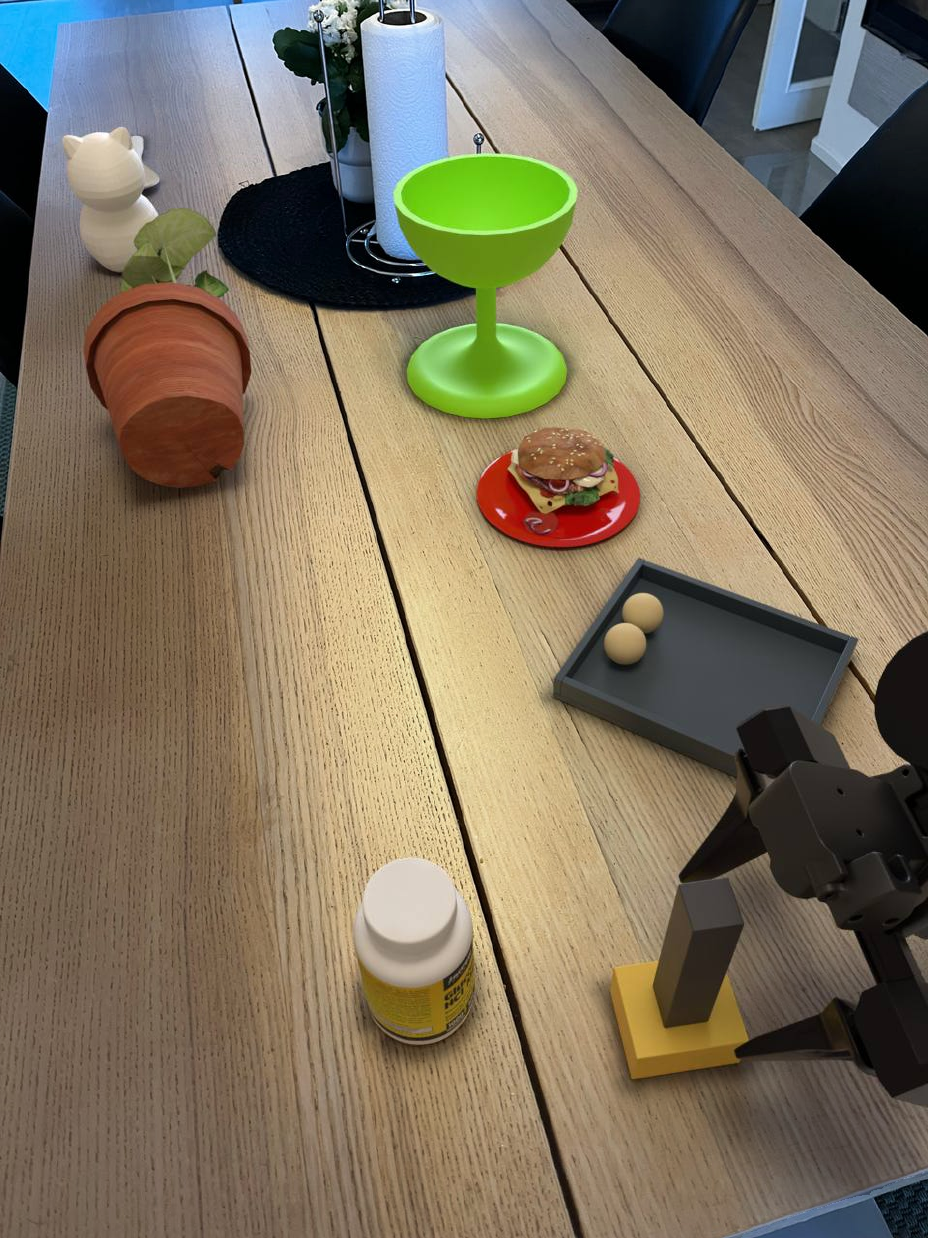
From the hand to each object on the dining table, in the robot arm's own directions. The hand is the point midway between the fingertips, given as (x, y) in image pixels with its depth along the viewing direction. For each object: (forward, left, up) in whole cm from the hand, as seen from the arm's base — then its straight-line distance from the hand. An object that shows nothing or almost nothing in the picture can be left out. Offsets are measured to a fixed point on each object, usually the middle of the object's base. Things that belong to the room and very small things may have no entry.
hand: (709, 963), depth 51 cm
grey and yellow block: (+1, 0, -7) cm, 8 cm away
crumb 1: (+7, -28, -5) cm, 30 cm away
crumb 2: (+8, -25, -5) cm, 27 cm away
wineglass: (+28, -60, -8) cm, 66 cm away
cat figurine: (+75, -73, -8) cm, 105 cm away
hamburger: (+17, -43, -8) cm, 46 cm away
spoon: (+86, -96, -8) cm, 129 cm away
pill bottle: (+15, +2, -8) cm, 17 cm away
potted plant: (+56, -48, -8) cm, 74 cm away
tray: (+2, -25, -7) cm, 26 cm away
